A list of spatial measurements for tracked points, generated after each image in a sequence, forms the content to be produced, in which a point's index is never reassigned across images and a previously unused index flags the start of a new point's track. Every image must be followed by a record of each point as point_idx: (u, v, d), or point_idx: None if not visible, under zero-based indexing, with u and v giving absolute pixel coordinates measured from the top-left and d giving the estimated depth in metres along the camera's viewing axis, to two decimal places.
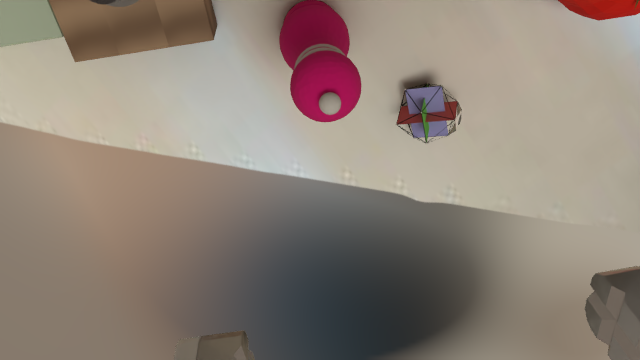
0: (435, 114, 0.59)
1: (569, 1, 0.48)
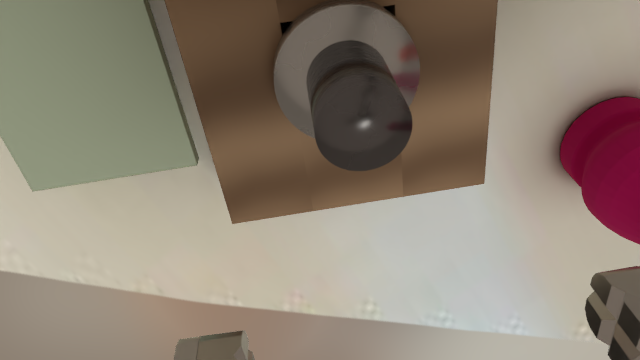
0: None
1: None
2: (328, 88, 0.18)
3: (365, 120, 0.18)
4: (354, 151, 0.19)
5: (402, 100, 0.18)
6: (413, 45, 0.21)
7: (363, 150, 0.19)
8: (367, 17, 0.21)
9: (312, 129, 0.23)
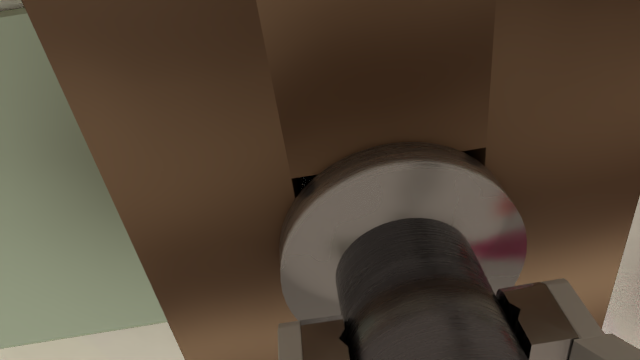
0: None
1: None
2: None
3: None
4: None
5: None
6: (520, 221, 0.13)
7: None
8: (446, 184, 0.12)
9: None
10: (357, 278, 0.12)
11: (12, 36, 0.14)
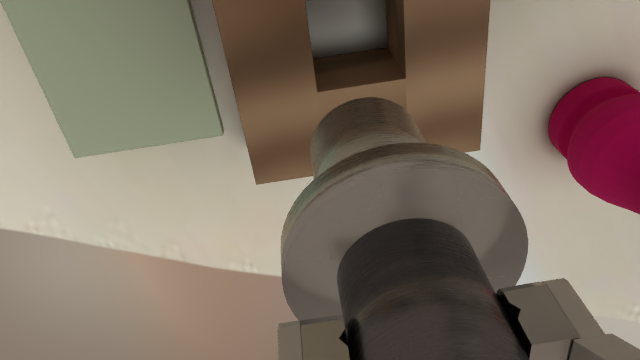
0: None
1: None
2: None
3: None
4: None
5: None
6: (521, 221, 0.13)
7: None
8: (448, 185, 0.12)
9: None
10: (358, 278, 0.12)
11: None
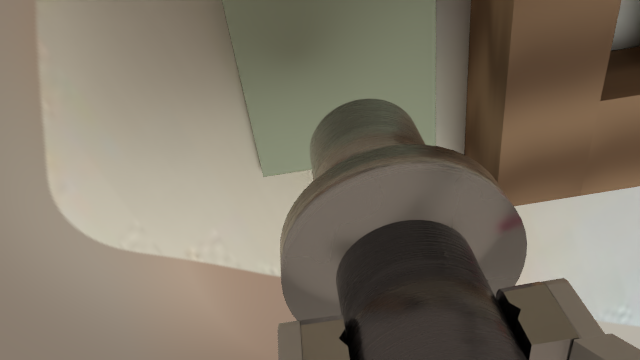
0: None
1: None
2: None
3: None
4: None
5: None
6: (520, 223, 0.13)
7: None
8: (446, 186, 0.12)
9: None
10: (357, 280, 0.12)
11: None
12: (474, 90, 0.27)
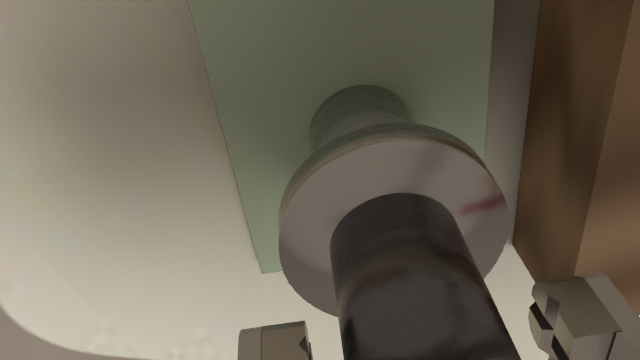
0: None
1: None
2: (374, 315, 0.10)
3: None
4: None
5: (509, 347, 0.10)
6: (501, 197, 0.13)
7: None
8: (432, 161, 0.13)
9: (336, 307, 0.15)
10: (348, 246, 0.12)
11: None
12: (534, 172, 0.21)
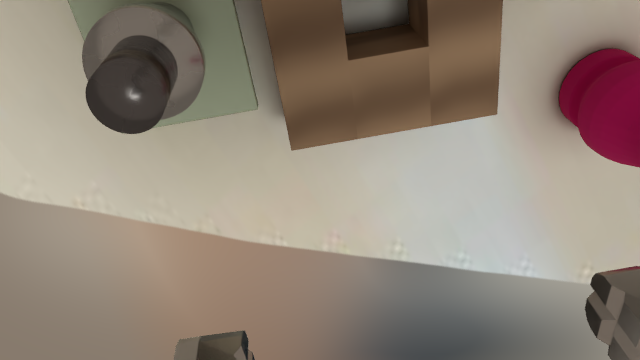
0: None
1: None
2: (97, 68, 0.24)
3: (124, 92, 0.24)
4: (123, 117, 0.25)
5: (149, 75, 0.24)
6: (191, 38, 0.27)
7: (130, 116, 0.25)
8: (147, 16, 0.26)
9: None
10: None
11: None
12: None
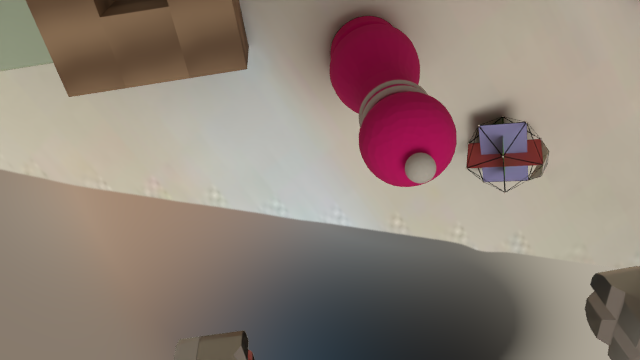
0: (515, 156, 0.48)
1: None
2: None
3: None
4: None
5: None
6: None
7: None
8: None
9: None
10: None
11: None
12: None
